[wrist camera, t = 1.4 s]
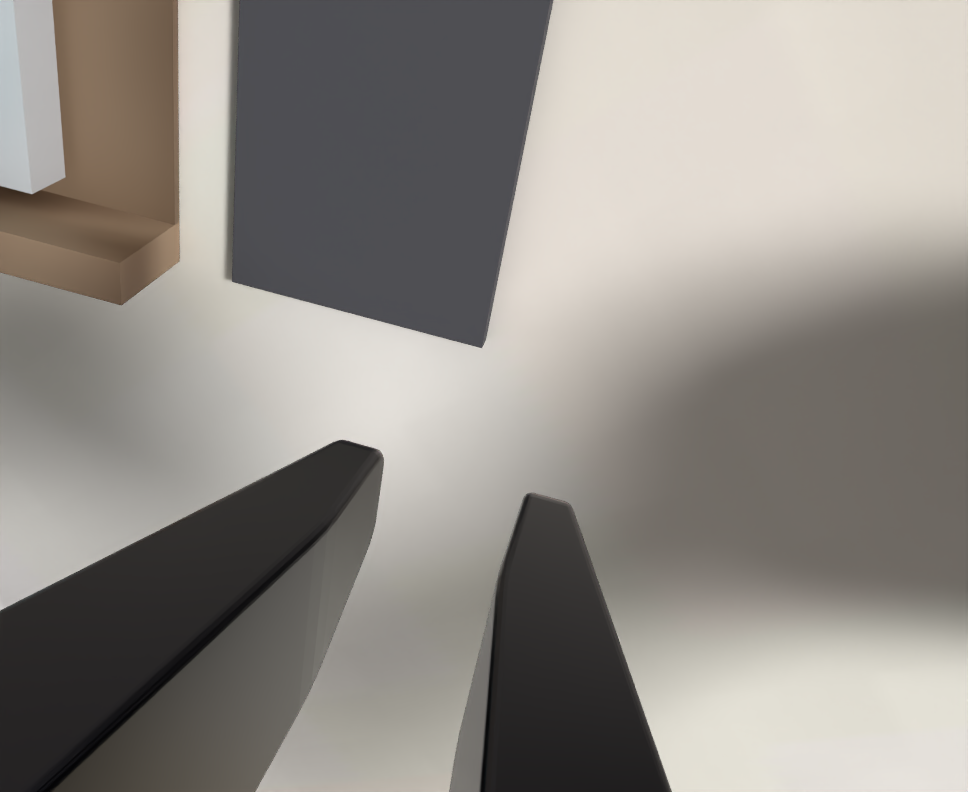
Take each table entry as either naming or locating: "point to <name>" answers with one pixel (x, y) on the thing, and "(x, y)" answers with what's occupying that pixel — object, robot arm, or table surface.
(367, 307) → the dark gray rectangular plate
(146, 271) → the track
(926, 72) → the table surface
